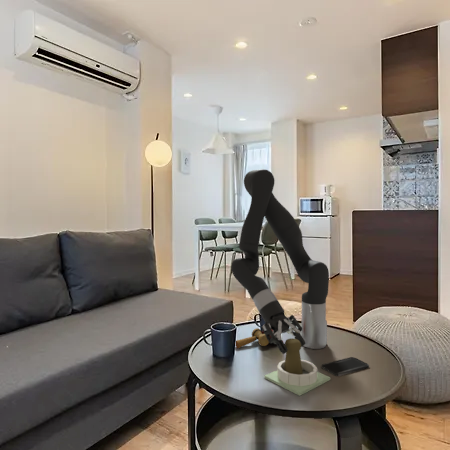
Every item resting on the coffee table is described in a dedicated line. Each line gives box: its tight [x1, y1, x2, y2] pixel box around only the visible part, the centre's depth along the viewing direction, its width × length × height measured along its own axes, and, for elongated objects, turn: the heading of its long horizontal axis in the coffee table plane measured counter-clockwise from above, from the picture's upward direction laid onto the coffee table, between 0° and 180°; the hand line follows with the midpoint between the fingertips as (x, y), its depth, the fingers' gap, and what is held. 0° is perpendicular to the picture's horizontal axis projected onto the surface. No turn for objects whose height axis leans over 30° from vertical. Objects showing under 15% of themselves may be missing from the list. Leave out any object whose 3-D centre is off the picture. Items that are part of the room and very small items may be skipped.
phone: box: [321, 356, 370, 377], centre depth 120 cm, size 8×1×15 cm
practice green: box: [263, 359, 331, 396], centre depth 111 cm, size 15×14×4 cm
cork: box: [284, 337, 303, 375], centre depth 113 cm, size 6×6×11 cm
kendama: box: [235, 328, 273, 349], centre depth 141 cm, size 8×6×18 cm
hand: (294, 348), depth 112 cm, fingers open, 8 cm apart
